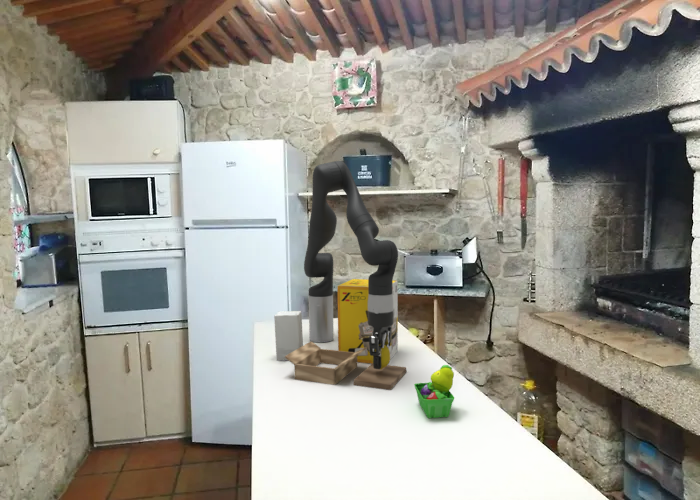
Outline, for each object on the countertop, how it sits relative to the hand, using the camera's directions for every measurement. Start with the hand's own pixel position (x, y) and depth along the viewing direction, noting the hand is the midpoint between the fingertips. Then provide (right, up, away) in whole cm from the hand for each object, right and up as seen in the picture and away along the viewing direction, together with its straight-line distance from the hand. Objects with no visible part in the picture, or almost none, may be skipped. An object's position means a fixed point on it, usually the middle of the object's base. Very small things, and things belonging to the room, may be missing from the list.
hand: (380, 365), depth 146 cm
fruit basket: (+12, -6, -23) cm, 27 cm away
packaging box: (-3, -2, +23) cm, 23 cm away
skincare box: (-29, -3, +21) cm, 36 cm away
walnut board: (0, -4, 0) cm, 4 cm away
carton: (-16, -4, +6) cm, 17 cm away
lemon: (0, -1, 0) cm, 1 cm away
